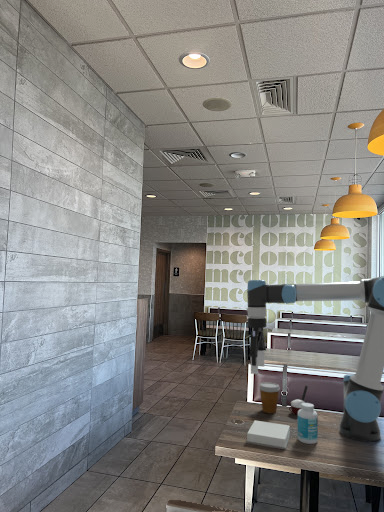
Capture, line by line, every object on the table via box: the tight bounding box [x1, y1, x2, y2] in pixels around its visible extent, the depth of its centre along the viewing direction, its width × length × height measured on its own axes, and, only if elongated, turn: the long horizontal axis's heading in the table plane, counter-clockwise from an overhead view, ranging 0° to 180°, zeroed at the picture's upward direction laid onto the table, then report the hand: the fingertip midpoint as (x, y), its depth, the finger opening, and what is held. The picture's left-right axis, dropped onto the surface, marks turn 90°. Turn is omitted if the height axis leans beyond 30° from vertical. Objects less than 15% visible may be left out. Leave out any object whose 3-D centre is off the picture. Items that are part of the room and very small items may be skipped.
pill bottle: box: [297, 402, 319, 445], centre depth 145 cm, size 8×7×14 cm
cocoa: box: [288, 385, 309, 416], centre depth 174 cm, size 10×6×12 cm, turn 86°
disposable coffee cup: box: [258, 381, 281, 414], centre depth 177 cm, size 10×10×12 cm
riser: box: [246, 420, 291, 450], centre depth 146 cm, size 14×14×4 cm
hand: (257, 369), depth 154 cm, fingers open, 13 cm apart
